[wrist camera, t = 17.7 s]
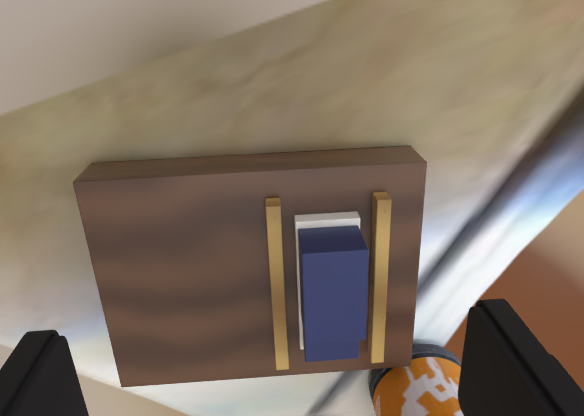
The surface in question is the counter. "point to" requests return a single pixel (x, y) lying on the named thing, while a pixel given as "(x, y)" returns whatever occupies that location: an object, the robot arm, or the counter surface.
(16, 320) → the counter surface
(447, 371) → the canister
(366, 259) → the blue box
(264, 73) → the counter surface
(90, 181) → the brown rectangular slab
